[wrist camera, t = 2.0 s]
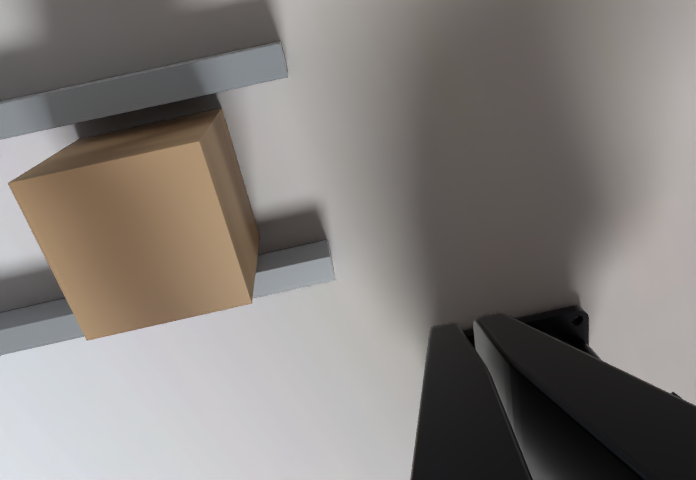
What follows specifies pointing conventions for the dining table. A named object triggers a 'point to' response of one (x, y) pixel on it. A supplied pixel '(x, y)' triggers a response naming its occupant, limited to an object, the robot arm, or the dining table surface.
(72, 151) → the tan block
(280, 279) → the channel
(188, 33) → the dining table surface
